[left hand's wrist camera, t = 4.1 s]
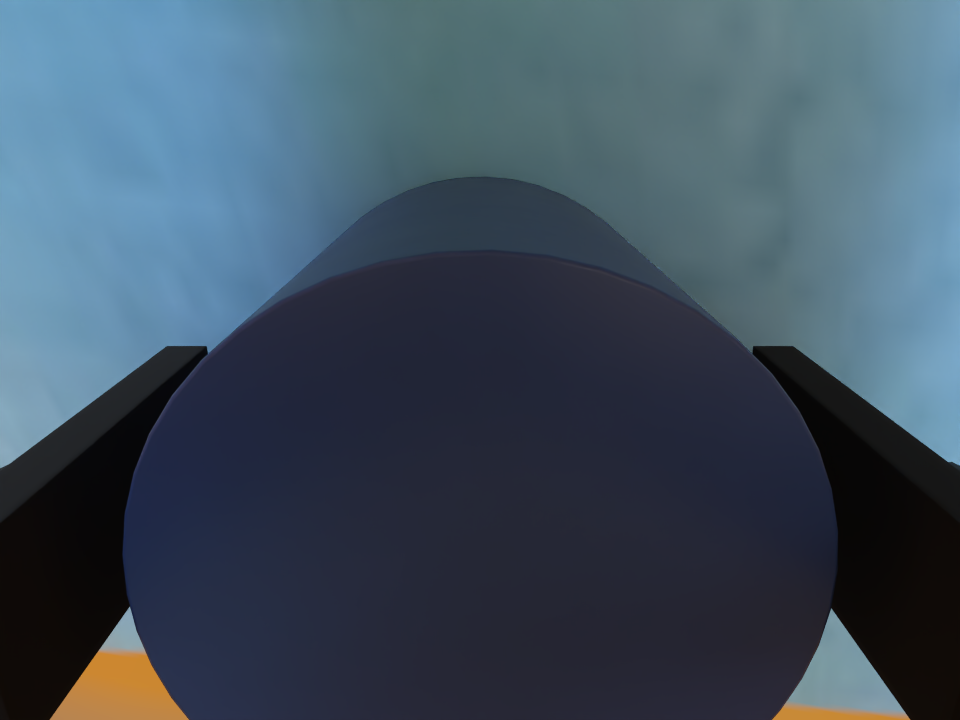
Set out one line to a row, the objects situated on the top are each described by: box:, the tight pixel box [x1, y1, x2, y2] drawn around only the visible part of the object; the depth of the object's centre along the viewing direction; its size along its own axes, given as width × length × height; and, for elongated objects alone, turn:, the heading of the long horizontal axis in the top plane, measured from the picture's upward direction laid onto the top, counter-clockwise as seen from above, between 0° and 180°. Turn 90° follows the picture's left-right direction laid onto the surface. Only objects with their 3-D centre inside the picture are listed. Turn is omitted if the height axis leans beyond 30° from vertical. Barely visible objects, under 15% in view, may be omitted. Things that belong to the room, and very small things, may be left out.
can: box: [123, 177, 838, 720], centre depth 12 cm, size 8×8×8 cm
